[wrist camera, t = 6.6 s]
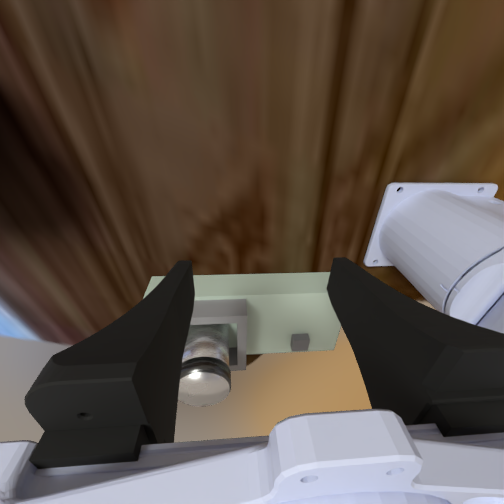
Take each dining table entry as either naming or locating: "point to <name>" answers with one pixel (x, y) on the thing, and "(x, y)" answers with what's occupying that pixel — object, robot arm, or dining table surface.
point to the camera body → (266, 312)
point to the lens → (205, 365)
